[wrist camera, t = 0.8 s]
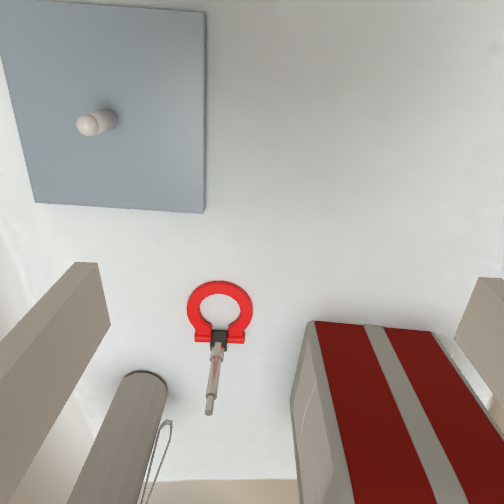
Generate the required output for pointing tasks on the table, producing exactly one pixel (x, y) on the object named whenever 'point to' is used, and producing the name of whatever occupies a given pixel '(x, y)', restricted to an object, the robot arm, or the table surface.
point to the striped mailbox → (389, 421)
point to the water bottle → (124, 444)
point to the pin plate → (108, 103)
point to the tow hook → (218, 337)
